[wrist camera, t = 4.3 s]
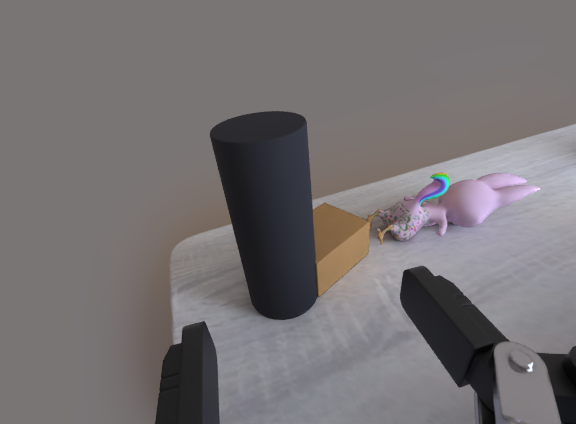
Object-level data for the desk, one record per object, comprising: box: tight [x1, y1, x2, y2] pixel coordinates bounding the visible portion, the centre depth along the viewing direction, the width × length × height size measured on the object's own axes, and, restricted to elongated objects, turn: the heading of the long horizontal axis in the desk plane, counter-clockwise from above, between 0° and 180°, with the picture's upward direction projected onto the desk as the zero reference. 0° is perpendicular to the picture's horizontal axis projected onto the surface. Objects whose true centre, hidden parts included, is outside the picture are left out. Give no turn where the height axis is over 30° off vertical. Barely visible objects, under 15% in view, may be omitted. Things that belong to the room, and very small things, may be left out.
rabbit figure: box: [367, 173, 540, 245], centre depth 27 cm, size 6×6×15 cm
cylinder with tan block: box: [210, 111, 370, 320], centre depth 21 cm, size 10×5×13 cm, turn 134°
